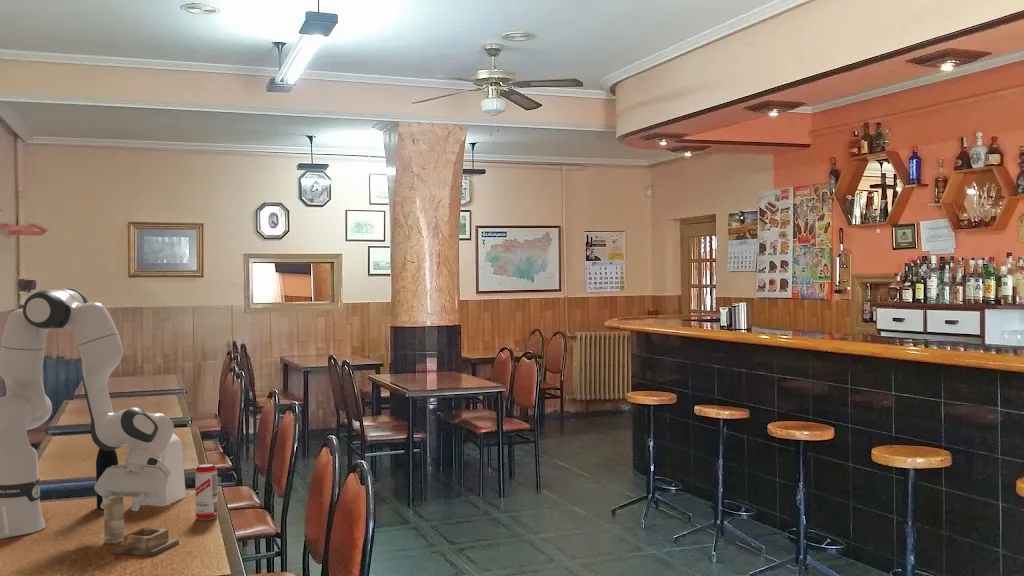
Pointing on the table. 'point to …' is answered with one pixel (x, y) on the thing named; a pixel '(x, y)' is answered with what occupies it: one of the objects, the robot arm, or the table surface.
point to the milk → (171, 475)
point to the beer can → (206, 491)
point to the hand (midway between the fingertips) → (118, 509)
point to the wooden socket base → (146, 542)
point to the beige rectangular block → (113, 519)
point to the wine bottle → (104, 467)
